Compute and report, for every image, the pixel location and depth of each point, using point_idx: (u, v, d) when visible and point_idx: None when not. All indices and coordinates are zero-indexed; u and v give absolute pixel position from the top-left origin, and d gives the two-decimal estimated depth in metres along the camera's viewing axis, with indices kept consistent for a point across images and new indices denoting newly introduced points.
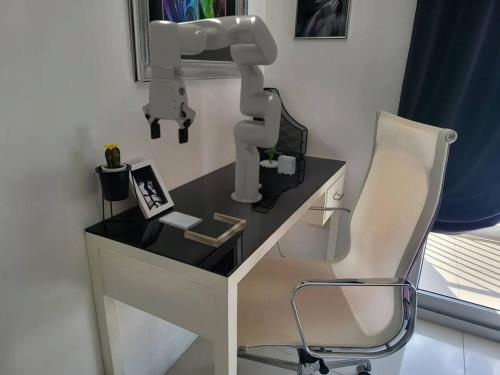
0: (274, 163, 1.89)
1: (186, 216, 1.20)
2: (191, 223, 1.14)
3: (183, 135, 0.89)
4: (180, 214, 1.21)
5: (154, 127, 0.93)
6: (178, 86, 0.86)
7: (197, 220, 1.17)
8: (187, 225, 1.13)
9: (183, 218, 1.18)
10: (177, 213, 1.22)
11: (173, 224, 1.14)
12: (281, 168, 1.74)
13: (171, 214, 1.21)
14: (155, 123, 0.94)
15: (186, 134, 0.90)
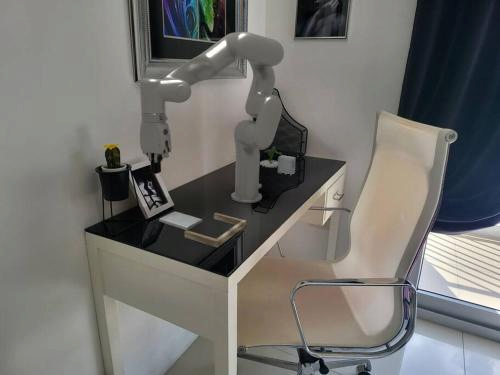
0: (274, 163, 1.89)
1: (186, 216, 1.19)
2: (191, 223, 1.14)
3: (156, 167, 1.15)
4: (180, 214, 1.21)
5: None
6: (163, 128, 1.09)
7: (197, 220, 1.17)
8: (187, 225, 1.13)
9: (183, 218, 1.17)
10: (177, 213, 1.22)
11: (173, 224, 1.14)
12: (281, 168, 1.74)
13: (171, 214, 1.21)
14: None
15: (159, 166, 1.15)
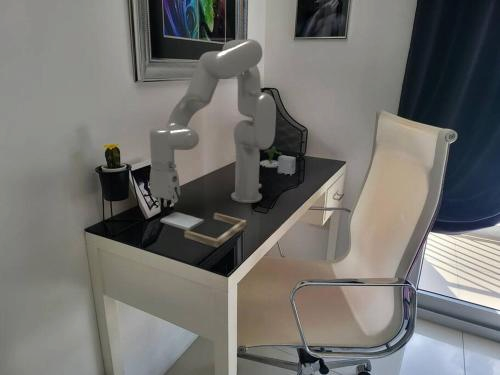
0: (274, 163, 1.89)
1: (187, 216, 1.19)
2: (193, 223, 1.14)
3: (166, 211, 1.19)
4: (181, 214, 1.21)
5: None
6: (172, 175, 1.13)
7: (198, 220, 1.16)
8: (189, 226, 1.12)
9: (184, 219, 1.17)
10: (178, 213, 1.21)
11: (174, 225, 1.14)
12: (281, 168, 1.74)
13: (172, 214, 1.20)
14: None
15: (168, 210, 1.19)
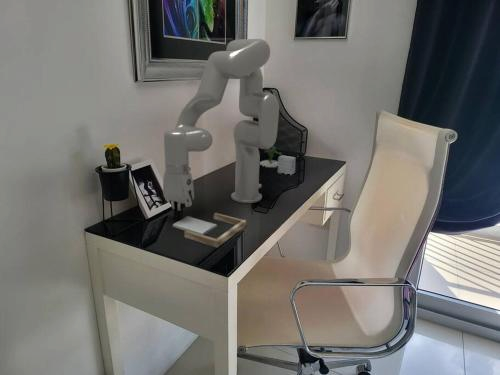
0: (274, 163, 1.89)
1: (200, 221, 1.16)
2: (206, 229, 1.11)
3: (179, 215, 1.16)
4: (194, 219, 1.18)
5: None
6: (186, 179, 1.10)
7: (212, 225, 1.13)
8: (202, 231, 1.09)
9: (197, 224, 1.14)
10: (190, 218, 1.18)
11: None
12: (281, 168, 1.74)
13: (184, 219, 1.17)
14: None
15: (182, 214, 1.16)
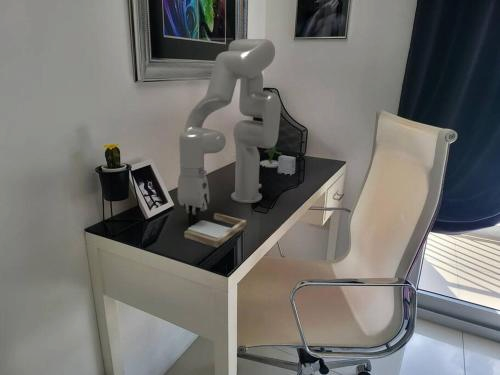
0: (274, 163, 1.89)
1: (215, 225, 1.13)
2: (222, 233, 1.08)
3: (194, 219, 1.13)
4: (208, 223, 1.15)
5: None
6: (202, 182, 1.07)
7: None
8: (219, 235, 1.07)
9: (213, 228, 1.11)
10: (205, 222, 1.15)
11: (203, 234, 1.08)
12: (281, 168, 1.74)
13: (199, 223, 1.14)
14: None
15: (196, 218, 1.14)
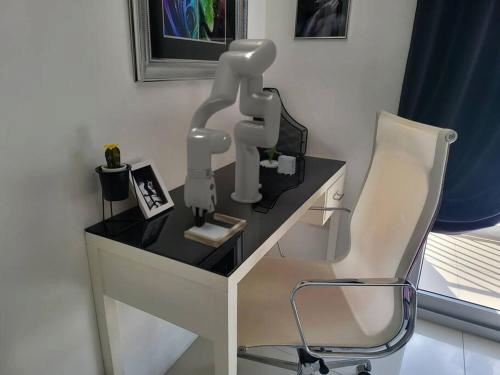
0: (274, 163, 1.89)
1: (216, 227, 1.13)
2: None
3: (201, 221, 1.12)
4: (209, 225, 1.14)
5: None
6: (209, 183, 1.06)
7: None
8: None
9: (213, 230, 1.11)
10: (205, 223, 1.15)
11: None
12: (281, 168, 1.74)
13: None
14: None
15: (203, 219, 1.12)
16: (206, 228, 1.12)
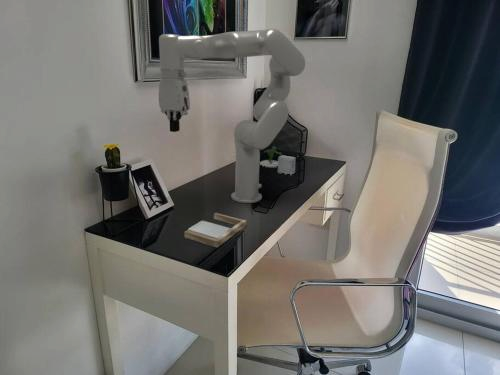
0: (274, 163, 1.89)
1: (215, 226, 1.13)
2: (223, 233, 1.08)
3: (175, 125, 1.17)
4: (208, 223, 1.14)
5: None
6: (182, 84, 1.11)
7: None
8: (219, 236, 1.06)
9: (213, 228, 1.11)
10: (205, 222, 1.15)
11: (204, 235, 1.08)
12: (281, 168, 1.74)
13: (199, 224, 1.14)
14: None
15: (178, 124, 1.17)
16: (206, 227, 1.12)
